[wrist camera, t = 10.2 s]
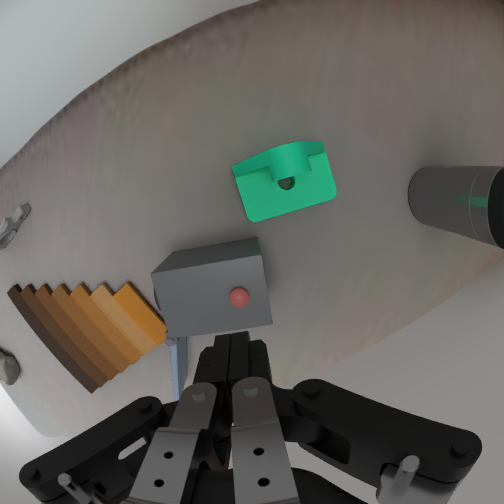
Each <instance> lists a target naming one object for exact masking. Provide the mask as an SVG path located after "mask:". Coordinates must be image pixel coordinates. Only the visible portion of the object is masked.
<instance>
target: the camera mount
mask: <svg viewBox="0 0 504 504" xmlns="http://www.w3.org/2000/svg"><path fill="white" fill-rule="evenodd" d="M231 167H232V170H233V173H234V176H235V179H236V183H237V186H238V189H239V192H240V195H241V198H242V201H243V205H244V208H245V211H246V214H247V217H248V219H249V220H250V221H252V222H259V221H262V220H266V219H269V218H272V217H275V216H279V215H282V214H285V213H289V212H292V211H295V210H299V209H302V208H305V207H309V206H312V205H316V204H319V203H323V202H326V201H329V200H332V199H334V198H335V197H336V194H337V190H336V186H335V183H334V179H333V176H332V172H331V169H330V165H329V162H328V159H327V155H326V152H325V149H324V146H323V142H322V141H298V142H293V143H288V144H285V145H281V146H278V147H275V148H272V149H269V150H267V151H265V152H262V153H260V154H258V155H255V156H253V157H251V158H249V159H247V160H244V161H242V162H240V163H238V164H236V165H233V166H231ZM288 177H291V179H292V185H291V187H290V188H289V189H287V190H283V189H282V188H280V186H279V184H278V180H281V179H285V178H288Z"/></svg>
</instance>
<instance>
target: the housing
mask: <svg viewBox="0 0 504 504" xmlns="http://www.w3.org/2000/svg"><path fill="white" fill-rule="evenodd" d="M151 277H152V281H153V284H154V296H155V300H156V304H157V306H158V308H159V310H160V311H161V312H162V315H163V318H164V321H165V325H166V328H167V330H166V332H165V334H166V339H165V343H166V344H167V345H168V346H174V345H175V344H176V343H178V342H179V339H180V337H186V336H195V335H203V334H210V333H218V332H225V331H232V330H239V329H245V328H252V327H258V326H264V325H270V324H273V321H272V315H271V309H270V303H269V297H268V292H267V286H266V280H265V274H264V268H263V262H262V257H261V251H260V246H259V242H258V237H255V238H249V239H243V240H238V241H232V242H226V243H221V244H215V245H210V246H204V247H199V248H193V249H188V250H182V251H177V252H173V253H172V254H170V255H169V256H168V257H167V258H166V259H165V260H164V261H163V262H162V263H161V264H160V265H159V266H158V267H157V268H156V269H155V270H154V271H153V272H152V273H151Z"/></svg>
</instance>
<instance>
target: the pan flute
mask: <svg viewBox="0 0 504 504" xmlns="http://www.w3.org/2000/svg"><path fill="white" fill-rule="evenodd" d="M7 294H8V296H9V297H10V299H11V300H12V302H13V303H14V305H15V306H16V308H17V309H18V311H19V312H20V313H21V315H22V316H23V317H24V319H25V320H26V321H27V323H28V324H29V325H30V327H31V328H32V329H33V331H34V332H35V333H36V334H37V336H38V337H39V338H40V339H41V341H42V342H43V343H44V344H45V345H46V347H47V348H48V349H49V350H50V351H51V352H52V354H53V355H54V356H55V357H56V358H57V359H58V360H59V361H60V363H61V364H62V365H63V366H64V367H65V368H66V369H67V370H68V371H69V372H70V373H71V374H72V375H73V376H74V377H75V378H76V379H77V380H78V381H79V382H80V383H81V384H82V385H83V386H84V387H85V388H86V389H87V390H88V391H89V392H90V393H91V394H92V393H93V392H94V391H95V390H96V389H97V388H98V387H102V386H103V385H104V384H105V383H106V382H107V381H108V380H112V379H113V378H114V377H115V376H116V375H117V374H118V373H119V372H121V373H122V372H123V371H124V370H125V369H126V368H127V367H128V366H129V365H130V364H134V363H135V362H136V361H137V360H138V359H139V358H140V357H141V356H142V355H145V354H148V353H149V352H150V351H151V350H152V349H153V348H154V347H155V346H156V345H157V344H161V343H163V342H164V341H165V339H166V334H165V332H166V330H167V328H166V325H165V322H164V321H163V320H162V319H161V318H160V317H159V315H158V314H157V313H156V312H155V311H154V310H153V309H152V308H151V307H150V306H149V305H148V303H147V302H146V301H145V300H144V299H143V298H142V297H141V296H140V294H139V293H138V292H137V291H136V290H135V289H134V288H133V286H132V285H131V284H130V283H129V282H128V283H126V284H125V285H124V286H123V287H122V288H121V289H120V290H119V291H118V292H117V293H116V294H114V293H113V292H112V291H111V290H110V288H109V287H108V286H107V285H106V284H105V283H103V284H102V285H100V286H99V287H98V288H97V289H96V290H95V291H94V292H93V293H92V294H91V292H90V291H89V290H88V289H87V287H86V286H85V285H84V284H83V283H82V284H80V285H79V286H78V287H77V288H76V289H75V290H74V291H73V292H72V293H71V292H70V291H69V290H68V288H67V287H66V286H65V285H64V284H61V285H60V286H59V287H58V288H57V289H56V290H54V291H53V292H52V291H51V289H50V288H49V287H48V285H47V284H45V285H42V286H41V287H40V288H39V289H38V290H37V291H36V290H35V289H34V287H33V286H32V284H30V285H27V286H26V287H25V288H24V289H23V290H21V288H20V287H19V285H18V284H16V285H13V287H12V288H11V289H10V290H9V291H8V292H7Z"/></svg>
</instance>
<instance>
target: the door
mask: <svg viewBox="0 0 504 504" xmlns="http://www.w3.org/2000/svg"><path fill="white" fill-rule="evenodd" d="M171 365H172V382H173V394H174V402H175V401H178V400H179V399H180V397H181V394H182V392H183V388H184V385H185V381H186V378H187V339H186V337H180V339H179V342H178V343H176V344H175V345H174V346H171Z"/></svg>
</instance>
